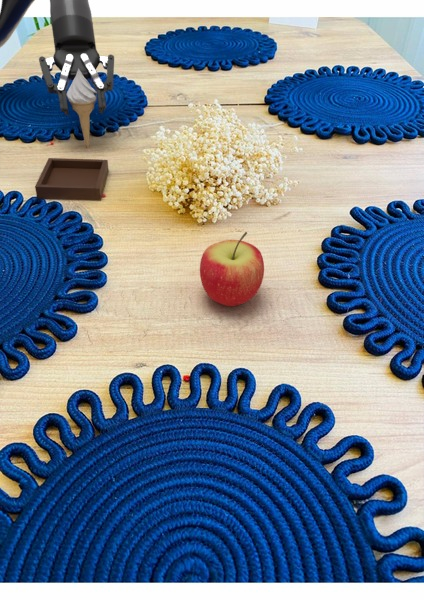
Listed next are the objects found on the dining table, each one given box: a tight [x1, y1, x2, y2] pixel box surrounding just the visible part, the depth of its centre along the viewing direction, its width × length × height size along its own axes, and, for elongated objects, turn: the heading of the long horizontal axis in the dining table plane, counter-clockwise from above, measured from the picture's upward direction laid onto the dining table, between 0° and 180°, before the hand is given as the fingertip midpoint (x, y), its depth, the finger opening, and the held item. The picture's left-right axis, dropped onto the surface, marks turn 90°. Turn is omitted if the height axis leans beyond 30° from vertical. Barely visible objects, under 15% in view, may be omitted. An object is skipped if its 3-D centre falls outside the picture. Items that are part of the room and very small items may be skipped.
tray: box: [34, 157, 110, 201], centre depth 93 cm, size 11×11×2 cm
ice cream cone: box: [66, 69, 97, 149], centre depth 100 cm, size 6×6×15 cm
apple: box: [199, 231, 265, 307], centre depth 68 cm, size 8×8×10 cm
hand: (84, 112), depth 98 cm, fingers closed on ice cream cone, 5 cm apart
